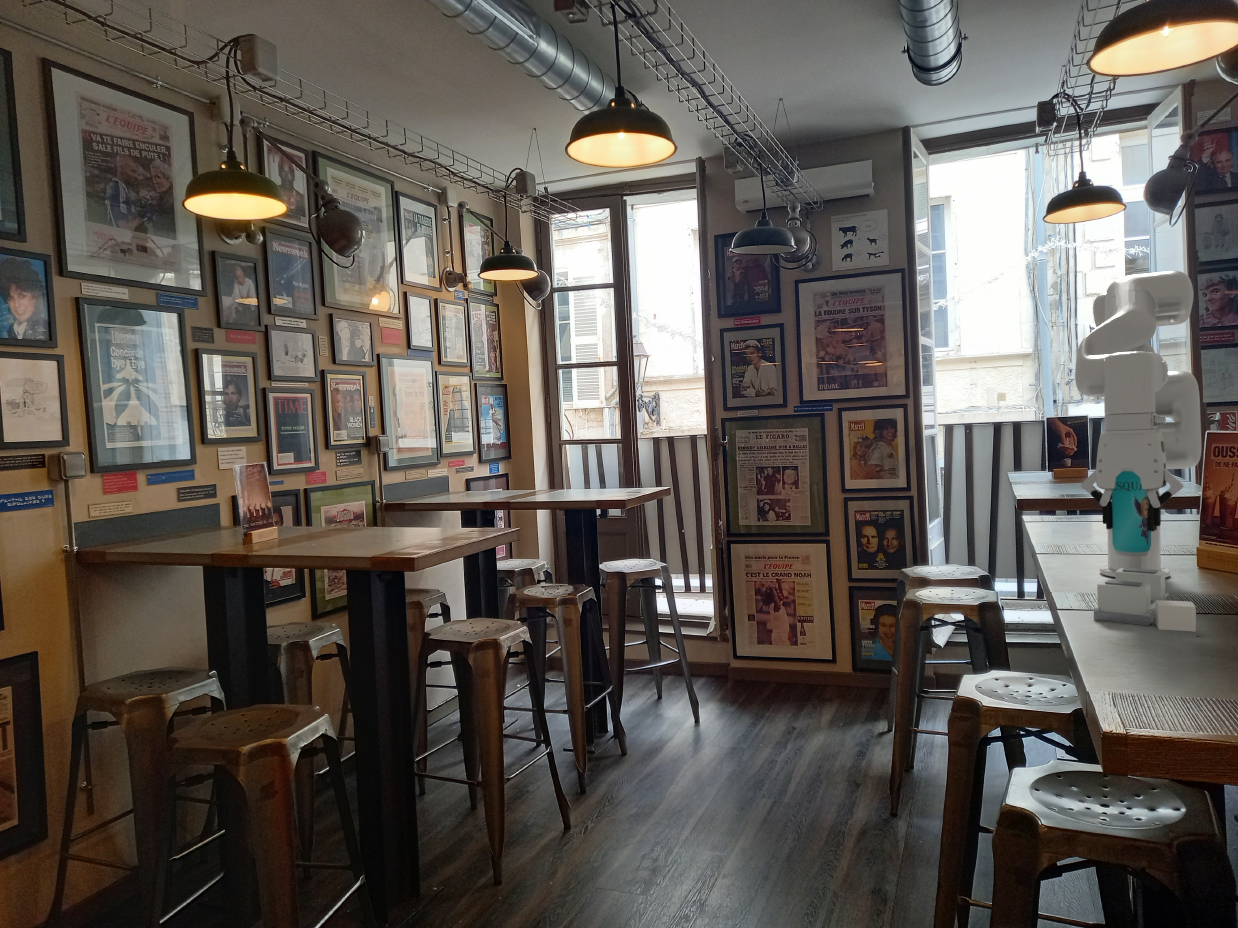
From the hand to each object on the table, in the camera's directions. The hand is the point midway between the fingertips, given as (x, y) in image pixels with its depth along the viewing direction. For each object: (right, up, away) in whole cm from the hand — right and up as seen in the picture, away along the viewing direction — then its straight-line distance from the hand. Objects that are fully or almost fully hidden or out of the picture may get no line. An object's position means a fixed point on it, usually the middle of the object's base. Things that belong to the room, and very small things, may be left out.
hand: (1131, 528), depth 148 cm
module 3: (+1, -15, -10) cm, 18 cm away
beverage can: (0, -5, 0) cm, 5 cm away
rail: (+1, -15, +1) cm, 15 cm away
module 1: (-4, -14, -4) cm, 15 cm away
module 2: (+5, -13, +6) cm, 15 cm away
